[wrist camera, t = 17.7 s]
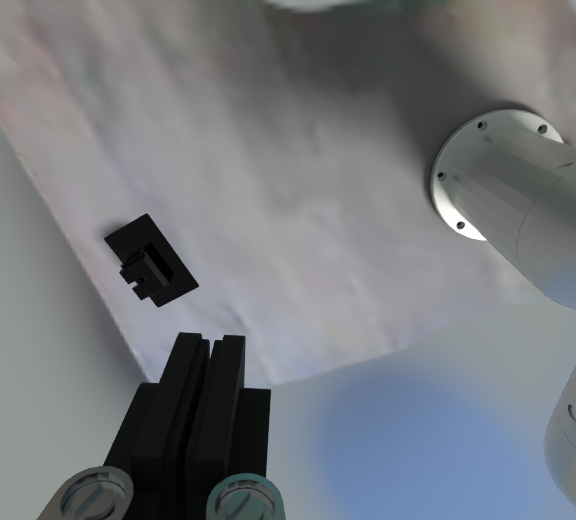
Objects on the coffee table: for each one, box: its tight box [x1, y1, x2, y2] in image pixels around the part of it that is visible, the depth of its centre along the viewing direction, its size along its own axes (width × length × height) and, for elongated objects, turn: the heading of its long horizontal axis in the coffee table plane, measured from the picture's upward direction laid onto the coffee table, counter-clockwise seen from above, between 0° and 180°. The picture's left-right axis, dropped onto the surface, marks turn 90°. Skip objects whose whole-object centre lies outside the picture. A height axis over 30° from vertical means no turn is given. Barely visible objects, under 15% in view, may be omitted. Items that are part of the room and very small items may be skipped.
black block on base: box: [104, 214, 199, 307], centre depth 48 cm, size 12×7×5 cm, turn 29°
